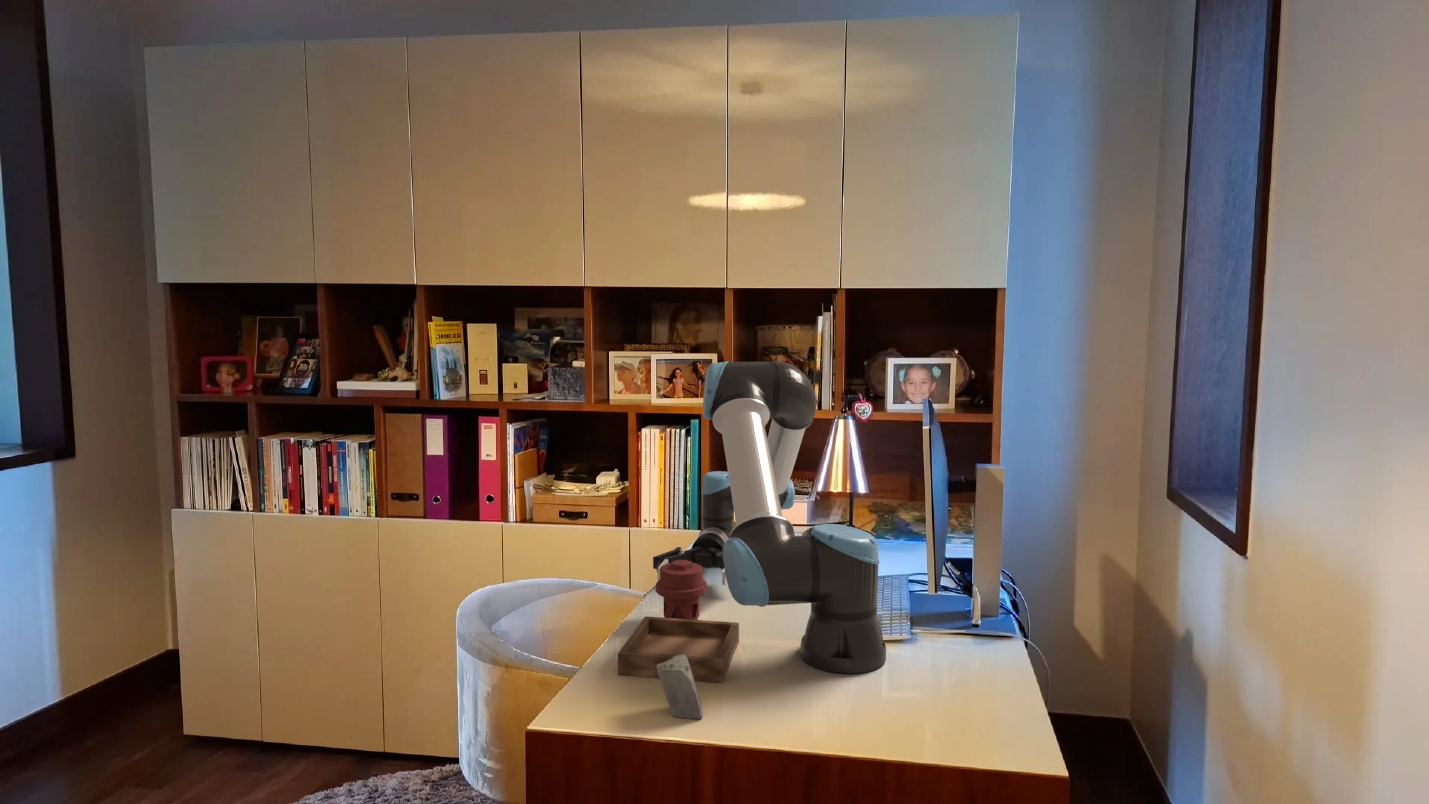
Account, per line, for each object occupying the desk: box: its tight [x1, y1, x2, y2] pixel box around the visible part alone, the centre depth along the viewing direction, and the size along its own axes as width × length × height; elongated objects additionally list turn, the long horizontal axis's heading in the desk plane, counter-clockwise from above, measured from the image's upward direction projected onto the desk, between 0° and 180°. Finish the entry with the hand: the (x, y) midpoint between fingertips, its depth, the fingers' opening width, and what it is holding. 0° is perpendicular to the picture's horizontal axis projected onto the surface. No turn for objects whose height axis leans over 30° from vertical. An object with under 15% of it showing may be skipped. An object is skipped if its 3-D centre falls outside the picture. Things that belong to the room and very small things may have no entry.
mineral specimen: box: [657, 654, 704, 720], centre depth 135 cm, size 7×9×8 cm
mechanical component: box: [655, 560, 708, 620], centre depth 171 cm, size 12×10×10 cm
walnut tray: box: [617, 616, 740, 684], centre depth 155 cm, size 18×18×4 cm
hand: (691, 576), depth 181 cm, fingers open, 13 cm apart
